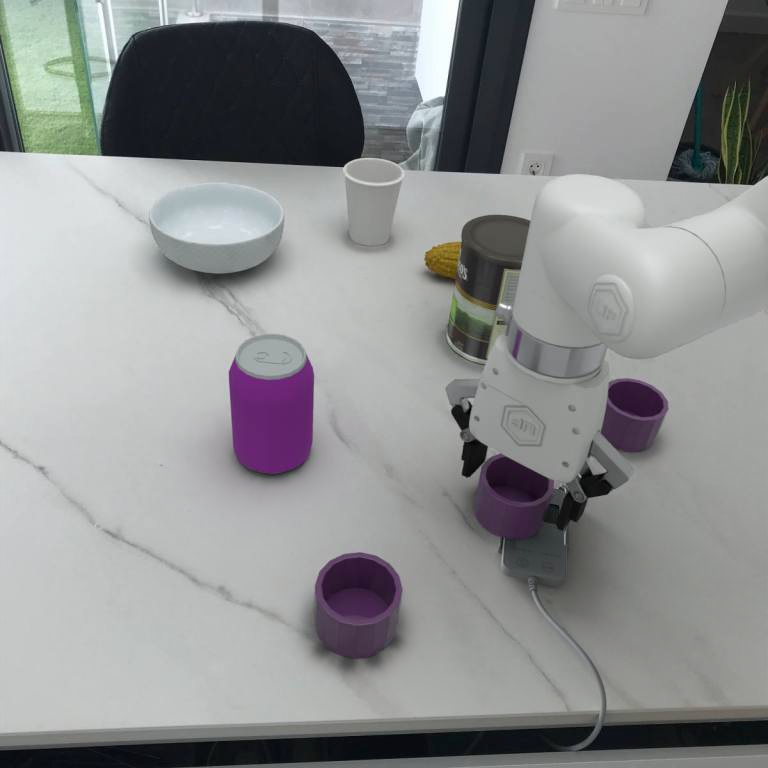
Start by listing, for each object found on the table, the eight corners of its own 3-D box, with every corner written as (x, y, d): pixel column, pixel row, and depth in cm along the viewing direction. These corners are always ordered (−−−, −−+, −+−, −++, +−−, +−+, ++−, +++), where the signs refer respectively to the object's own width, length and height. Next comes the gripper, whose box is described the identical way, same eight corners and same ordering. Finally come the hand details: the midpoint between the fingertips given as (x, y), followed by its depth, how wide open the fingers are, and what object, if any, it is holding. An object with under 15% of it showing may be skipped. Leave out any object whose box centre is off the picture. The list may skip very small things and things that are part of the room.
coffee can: (440, 358, 90) (457, 251, 81) (450, 310, 98) (466, 208, 89) (529, 373, 89) (556, 267, 80) (532, 323, 97) (556, 221, 88)
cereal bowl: (197, 308, 94) (193, 257, 89) (131, 250, 103) (124, 201, 98) (309, 266, 103) (310, 218, 99) (239, 217, 112) (237, 171, 108)
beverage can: (228, 478, 73) (221, 379, 65) (238, 422, 79) (232, 326, 71) (310, 481, 73) (312, 383, 66) (314, 426, 79) (316, 330, 72)
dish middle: (554, 536, 70) (565, 502, 68) (484, 543, 69) (493, 509, 66) (530, 482, 75) (539, 449, 73) (465, 488, 74) (472, 455, 71)
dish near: (404, 652, 60) (410, 619, 57) (319, 663, 59) (321, 630, 56) (388, 582, 65) (392, 548, 62) (309, 591, 64) (310, 557, 61)
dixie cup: (365, 256, 106) (370, 189, 100) (328, 231, 111) (330, 165, 104) (410, 240, 111) (417, 174, 104) (372, 217, 115) (377, 152, 109)
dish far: (666, 449, 81) (679, 417, 78) (607, 454, 79) (619, 422, 76) (638, 407, 86) (650, 376, 83) (583, 412, 84) (593, 380, 81)
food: (572, 273, 107) (582, 234, 103) (581, 295, 103) (592, 256, 99) (421, 265, 106) (426, 226, 102) (424, 288, 101) (429, 247, 97)
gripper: (436, 316, 61) (416, 471, 71) (644, 412, 53) (587, 569, 64) (485, 280, 66) (460, 430, 76) (683, 363, 58) (624, 517, 69)
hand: (518, 493), depth 70 cm, fingers open, 9 cm apart
